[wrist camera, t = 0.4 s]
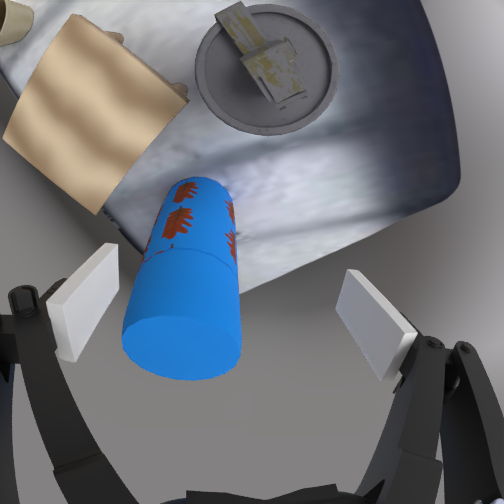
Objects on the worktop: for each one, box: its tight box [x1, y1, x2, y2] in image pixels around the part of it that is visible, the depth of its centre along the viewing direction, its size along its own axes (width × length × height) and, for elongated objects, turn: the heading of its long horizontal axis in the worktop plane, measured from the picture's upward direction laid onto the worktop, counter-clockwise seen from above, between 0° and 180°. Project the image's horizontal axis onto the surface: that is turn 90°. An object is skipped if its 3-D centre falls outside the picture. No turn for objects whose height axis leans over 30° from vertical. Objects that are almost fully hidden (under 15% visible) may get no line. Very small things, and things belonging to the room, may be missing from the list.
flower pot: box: [0, 0, 34, 47], centre depth 16 cm, size 9×9×9 cm
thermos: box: [122, 177, 242, 381], centre depth 33 cm, size 11×11×25 cm
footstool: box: [3, 14, 190, 215], centre depth 27 cm, size 16×16×12 cm
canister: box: [195, 1, 340, 136], centre depth 23 cm, size 11×10×20 cm
